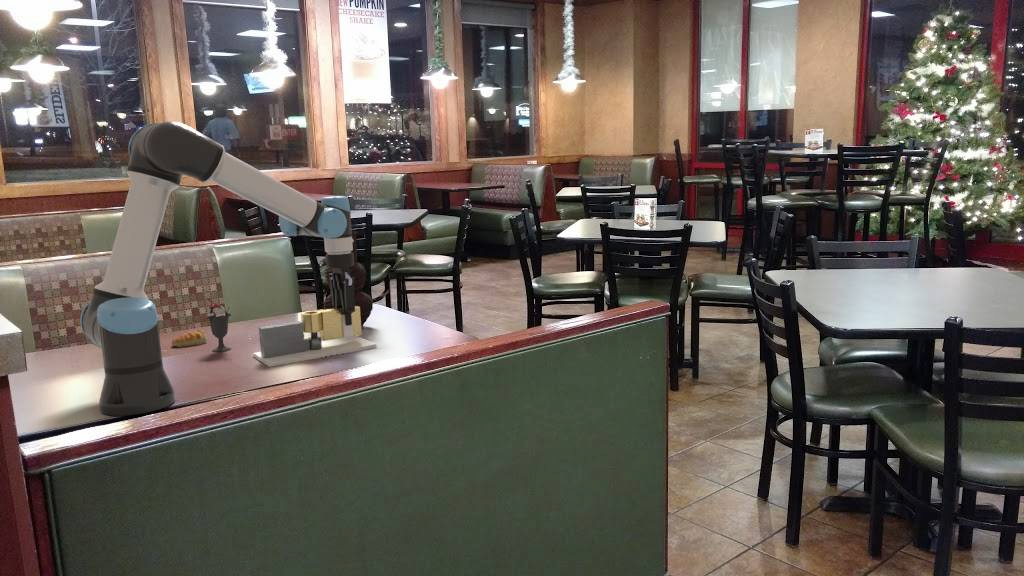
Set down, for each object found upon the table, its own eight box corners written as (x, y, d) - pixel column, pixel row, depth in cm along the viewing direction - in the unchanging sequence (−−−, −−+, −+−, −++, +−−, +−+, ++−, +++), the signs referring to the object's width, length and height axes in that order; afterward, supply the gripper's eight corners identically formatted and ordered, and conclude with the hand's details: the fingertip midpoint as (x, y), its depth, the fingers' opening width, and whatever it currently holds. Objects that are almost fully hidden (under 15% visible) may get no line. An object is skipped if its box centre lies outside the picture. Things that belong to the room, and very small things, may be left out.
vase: (322, 326, 251) (315, 232, 246) (371, 321, 256) (364, 229, 251) (326, 336, 237) (318, 236, 232) (377, 331, 241) (371, 233, 236)
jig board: (269, 366, 204) (268, 363, 204) (253, 356, 215) (253, 352, 215) (376, 347, 220) (376, 344, 220) (356, 338, 232) (356, 335, 232)
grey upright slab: (265, 358, 208) (262, 329, 207) (261, 356, 211) (258, 327, 210) (323, 348, 217) (321, 320, 216) (319, 346, 220) (317, 318, 219)
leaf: (307, 344, 214) (305, 315, 212) (300, 341, 218) (298, 312, 216) (363, 335, 222) (361, 307, 221) (355, 332, 227) (354, 305, 225)
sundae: (203, 351, 223) (198, 299, 220) (222, 346, 229) (217, 295, 226) (220, 353, 220) (215, 300, 217) (239, 348, 226) (234, 296, 223)
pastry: (177, 349, 228) (176, 336, 227) (168, 346, 232) (166, 333, 232) (209, 343, 234) (207, 330, 234) (199, 340, 239) (197, 327, 238)
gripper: (363, 253, 214) (369, 338, 218) (341, 248, 227) (347, 328, 231) (337, 256, 210) (344, 342, 214) (316, 251, 223) (322, 332, 227)
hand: (345, 335), depth 222 cm, fingers closed on leaf, 3 cm apart
